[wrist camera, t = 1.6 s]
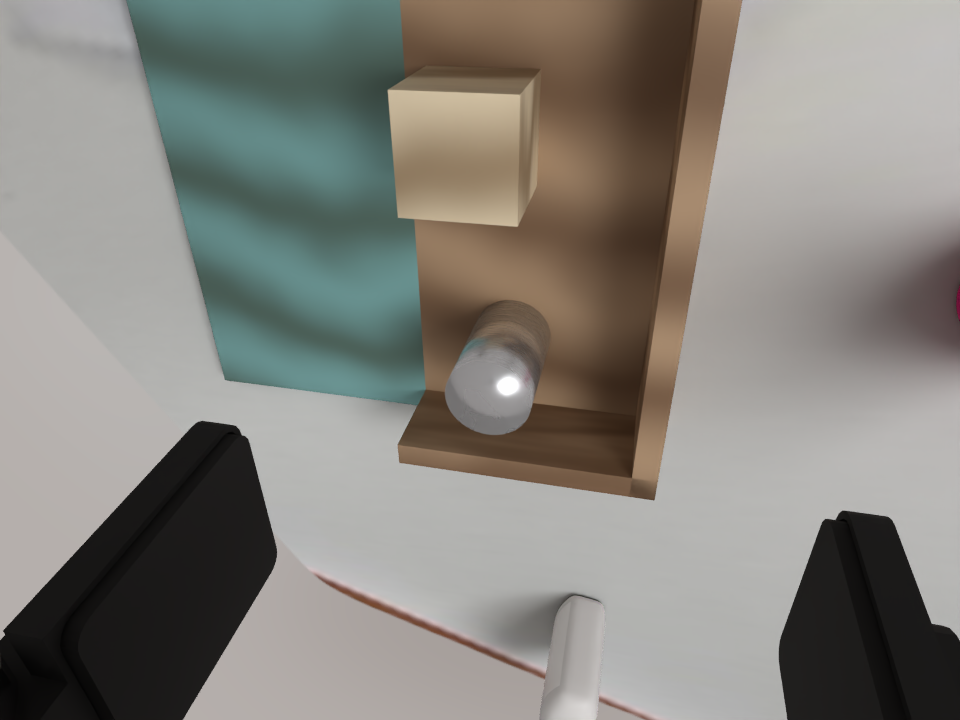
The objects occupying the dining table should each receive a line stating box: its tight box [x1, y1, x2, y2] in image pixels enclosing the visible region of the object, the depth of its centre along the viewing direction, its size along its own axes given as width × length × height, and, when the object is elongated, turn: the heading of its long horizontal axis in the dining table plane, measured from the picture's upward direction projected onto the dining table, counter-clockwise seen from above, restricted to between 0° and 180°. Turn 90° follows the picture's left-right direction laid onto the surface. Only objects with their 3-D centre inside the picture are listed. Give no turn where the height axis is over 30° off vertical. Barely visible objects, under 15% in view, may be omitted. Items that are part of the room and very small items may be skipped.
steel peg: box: [445, 300, 551, 435], centre depth 33 cm, size 4×4×6 cm
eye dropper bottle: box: [540, 595, 606, 720], centre depth 44 cm, size 4×6×12 cm
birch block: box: [388, 66, 541, 227], centre depth 28 cm, size 5×5×5 cm
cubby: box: [127, 0, 742, 500], centre depth 32 cm, size 24×26×6 cm
